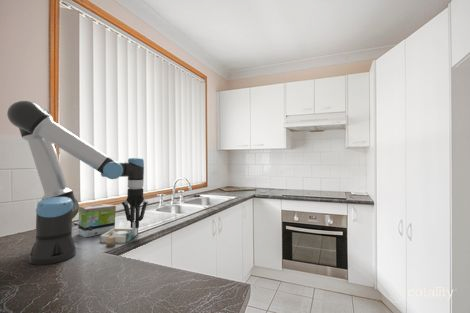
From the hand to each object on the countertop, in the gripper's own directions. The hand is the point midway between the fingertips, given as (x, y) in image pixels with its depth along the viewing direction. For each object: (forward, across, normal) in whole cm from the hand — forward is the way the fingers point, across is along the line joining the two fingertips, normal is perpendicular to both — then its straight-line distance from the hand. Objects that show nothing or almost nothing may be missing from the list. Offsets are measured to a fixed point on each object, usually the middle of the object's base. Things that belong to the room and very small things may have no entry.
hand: (134, 234), depth 122 cm
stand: (+2, +7, +11) cm, 13 cm away
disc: (+1, +7, 0) cm, 7 cm away
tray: (+2, +7, 0) cm, 7 cm away
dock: (+2, +7, 0) cm, 7 cm away
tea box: (+2, +24, -8) cm, 25 cm away
